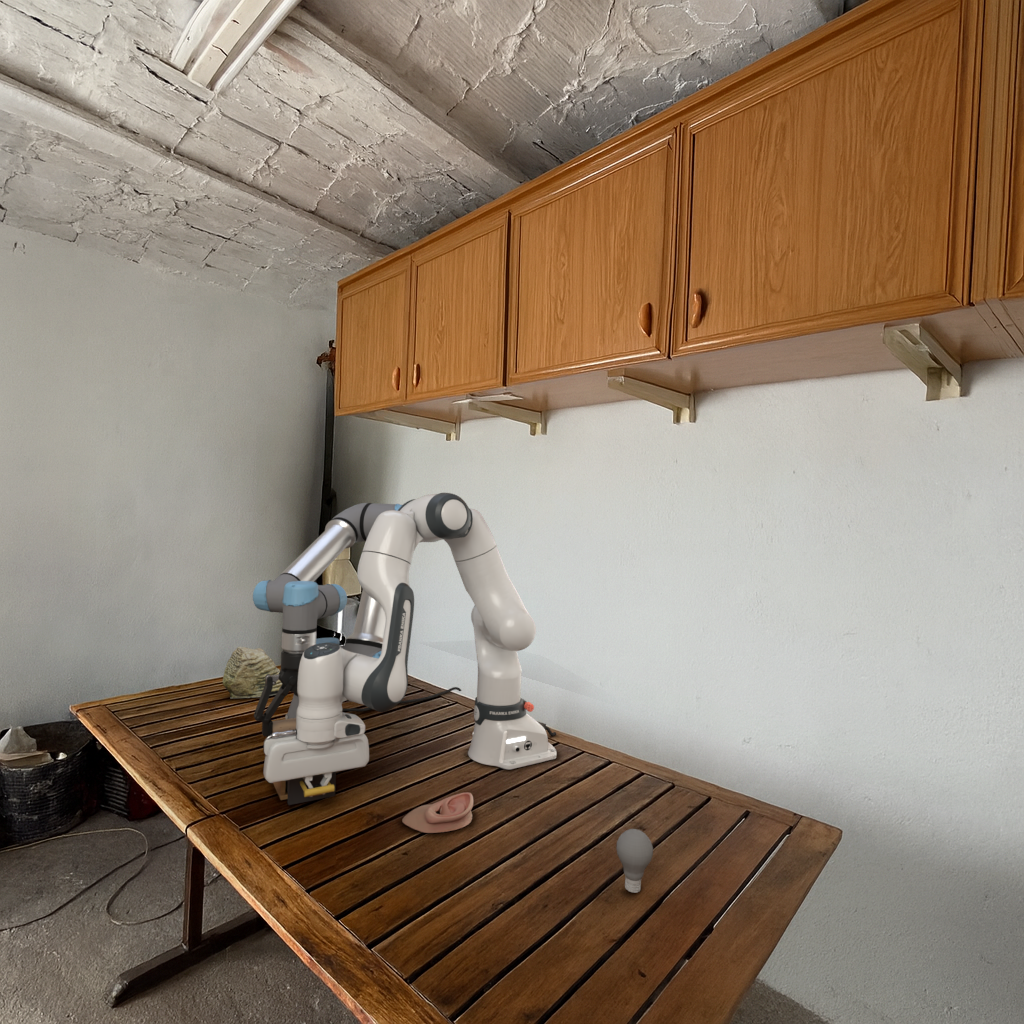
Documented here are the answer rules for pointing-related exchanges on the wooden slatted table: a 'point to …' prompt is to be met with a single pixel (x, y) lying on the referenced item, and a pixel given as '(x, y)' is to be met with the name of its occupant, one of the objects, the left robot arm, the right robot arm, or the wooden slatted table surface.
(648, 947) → the wooden slatted table surface
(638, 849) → the light bulb
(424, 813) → the anatomical model
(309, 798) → the drawer
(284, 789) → the cabinet
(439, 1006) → the wooden slatted table surface
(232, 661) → the fossil
